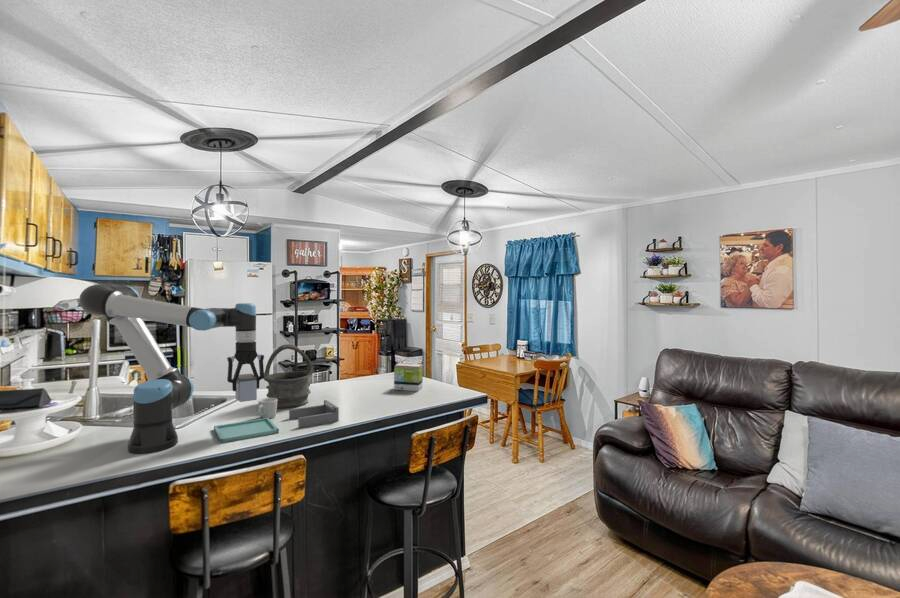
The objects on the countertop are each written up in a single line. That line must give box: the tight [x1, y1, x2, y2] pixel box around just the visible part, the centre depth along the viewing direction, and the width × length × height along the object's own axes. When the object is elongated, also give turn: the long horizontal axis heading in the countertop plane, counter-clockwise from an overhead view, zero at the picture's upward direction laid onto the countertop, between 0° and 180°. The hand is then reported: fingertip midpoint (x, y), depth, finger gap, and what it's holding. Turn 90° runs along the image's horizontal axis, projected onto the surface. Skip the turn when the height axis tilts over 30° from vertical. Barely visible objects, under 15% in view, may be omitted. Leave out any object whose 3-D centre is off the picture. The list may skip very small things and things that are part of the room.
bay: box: [288, 399, 340, 429], centre depth 189 cm, size 17×16×6 cm
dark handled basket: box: [263, 343, 315, 409], centre depth 216 cm, size 22×23×30 cm
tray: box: [213, 418, 280, 444], centre depth 173 cm, size 21×19×2 cm
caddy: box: [237, 373, 258, 403], centre depth 173 cm, size 6×10×9 cm, turn 35°
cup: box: [256, 397, 278, 419], centre depth 191 cm, size 11×8×8 cm
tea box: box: [393, 362, 424, 392], centre depth 250 cm, size 15×10×15 cm, turn 80°
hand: (246, 397), depth 173 cm, fingers closed on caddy, 6 cm apart
